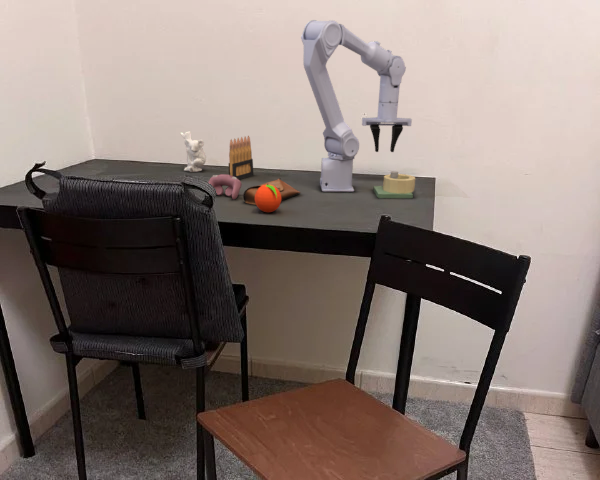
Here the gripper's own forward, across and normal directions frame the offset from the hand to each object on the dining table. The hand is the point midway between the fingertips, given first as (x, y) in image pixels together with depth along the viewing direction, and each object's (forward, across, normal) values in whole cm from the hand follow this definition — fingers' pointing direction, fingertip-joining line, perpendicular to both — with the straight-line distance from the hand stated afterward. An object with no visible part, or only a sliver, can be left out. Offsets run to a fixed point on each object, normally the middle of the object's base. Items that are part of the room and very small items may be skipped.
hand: (384, 151), depth 187 cm
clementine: (+10, -35, -35) cm, 50 cm away
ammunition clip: (+10, -44, +7) cm, 46 cm away
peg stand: (+9, +1, -14) cm, 17 cm away
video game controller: (+10, -48, -18) cm, 52 cm away
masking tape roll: (+8, +3, -14) cm, 16 cm away
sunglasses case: (+10, -34, -20) cm, 41 cm away
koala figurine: (+10, -60, +17) cm, 63 cm away
